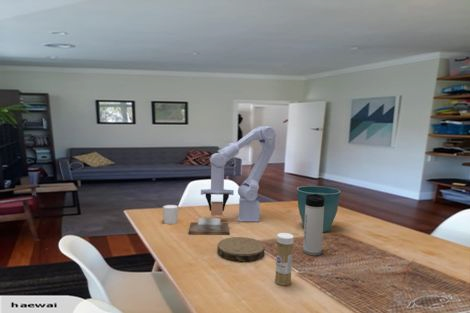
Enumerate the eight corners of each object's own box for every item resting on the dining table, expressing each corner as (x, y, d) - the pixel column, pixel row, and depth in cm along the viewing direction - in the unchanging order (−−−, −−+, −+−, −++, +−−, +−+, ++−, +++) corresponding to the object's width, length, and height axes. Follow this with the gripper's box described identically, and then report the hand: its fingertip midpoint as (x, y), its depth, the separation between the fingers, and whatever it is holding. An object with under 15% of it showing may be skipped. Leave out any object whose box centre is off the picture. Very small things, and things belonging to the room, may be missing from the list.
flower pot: (290, 231, 136) (292, 190, 134) (299, 220, 152) (301, 184, 151) (336, 237, 129) (338, 195, 127) (339, 225, 146) (341, 188, 144)
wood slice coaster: (258, 266, 101) (258, 257, 100) (210, 258, 105) (210, 249, 105) (268, 248, 116) (268, 240, 116) (225, 242, 120) (226, 234, 120)
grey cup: (180, 220, 145) (180, 205, 145) (176, 224, 139) (176, 208, 138) (165, 219, 146) (165, 204, 145) (160, 223, 139) (160, 207, 139)
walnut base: (228, 225, 140) (228, 217, 140) (229, 234, 128) (229, 225, 128) (190, 225, 139) (190, 216, 139) (188, 234, 127) (188, 225, 127)
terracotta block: (222, 212, 148) (222, 201, 148) (222, 215, 143) (222, 204, 143) (211, 212, 148) (211, 201, 147) (211, 215, 143) (211, 204, 142)
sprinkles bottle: (271, 282, 90) (273, 234, 89) (280, 276, 93) (282, 231, 92) (285, 287, 87) (288, 239, 86) (294, 282, 91) (296, 235, 89)
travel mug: (322, 250, 115) (325, 194, 113) (320, 256, 109) (324, 198, 107) (304, 247, 117) (307, 192, 115) (301, 254, 111) (304, 196, 109)
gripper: (200, 181, 140) (200, 212, 141) (234, 182, 140) (233, 213, 142) (201, 178, 147) (200, 208, 148) (233, 179, 148) (232, 208, 149)
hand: (216, 210), depth 145 cm, fingers closed on terracotta block, 5 cm apart
